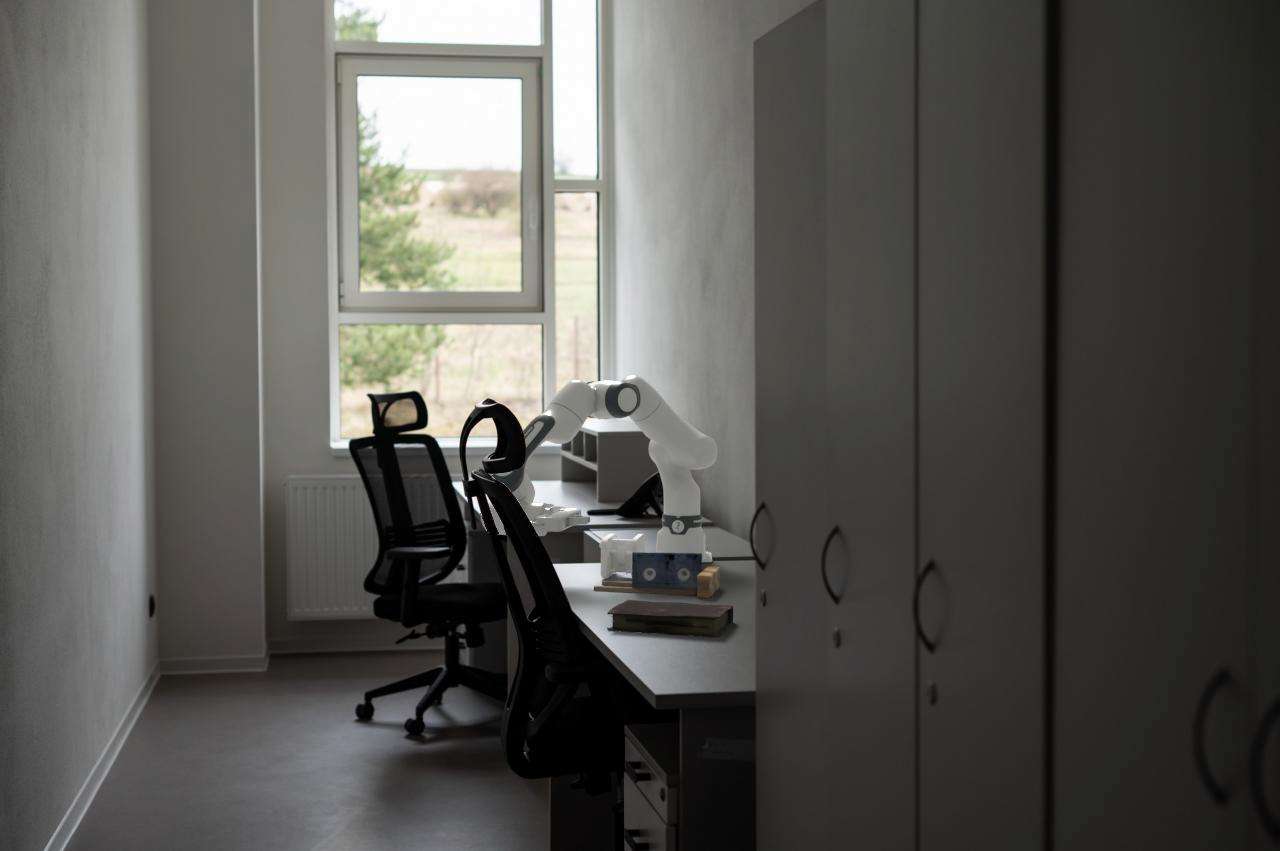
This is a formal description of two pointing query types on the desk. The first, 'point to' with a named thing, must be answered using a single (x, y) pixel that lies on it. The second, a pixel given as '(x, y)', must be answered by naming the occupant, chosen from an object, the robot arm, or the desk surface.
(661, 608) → the diary
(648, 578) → the vhs cassette tape
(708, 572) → the guide track
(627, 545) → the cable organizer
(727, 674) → the desk surface
